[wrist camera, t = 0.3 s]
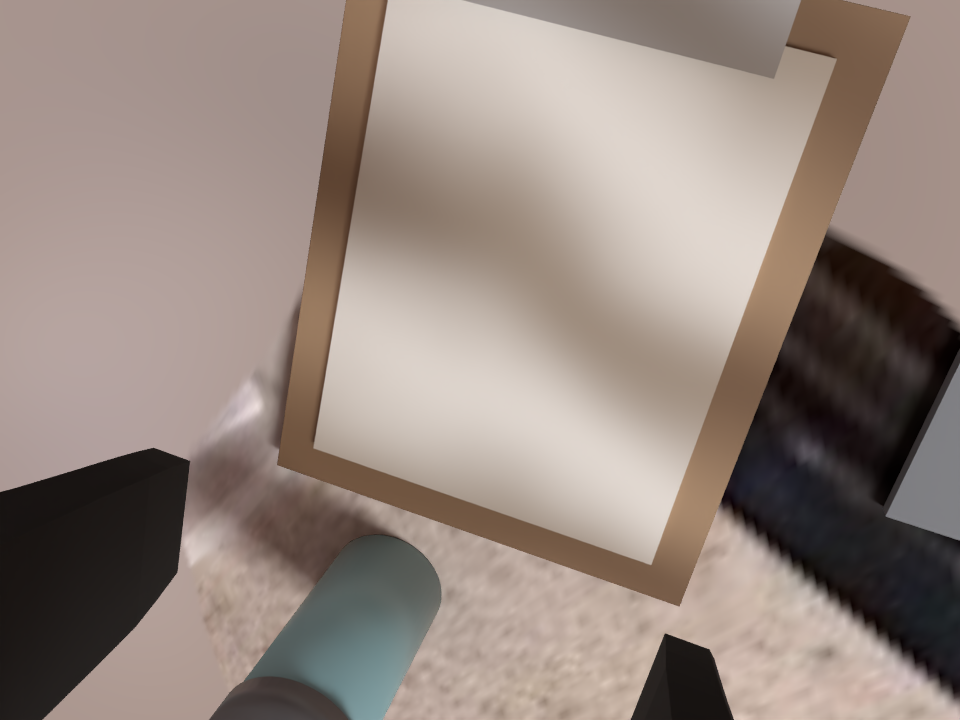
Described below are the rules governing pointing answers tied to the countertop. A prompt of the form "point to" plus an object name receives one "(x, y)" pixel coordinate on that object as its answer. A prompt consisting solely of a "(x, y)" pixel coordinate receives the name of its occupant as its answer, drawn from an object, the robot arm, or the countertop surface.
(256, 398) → the countertop surface
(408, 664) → the tumbler
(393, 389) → the clipboard
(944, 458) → the plate
